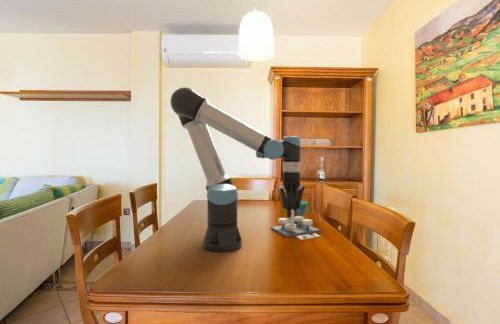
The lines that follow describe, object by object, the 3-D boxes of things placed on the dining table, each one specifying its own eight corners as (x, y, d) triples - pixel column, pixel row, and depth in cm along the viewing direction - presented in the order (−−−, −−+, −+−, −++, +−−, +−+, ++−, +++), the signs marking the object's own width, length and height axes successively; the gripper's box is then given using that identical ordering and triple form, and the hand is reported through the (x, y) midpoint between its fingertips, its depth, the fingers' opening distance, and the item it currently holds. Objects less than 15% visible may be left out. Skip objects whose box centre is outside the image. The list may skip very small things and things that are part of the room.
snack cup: (308, 218, 154) (308, 199, 153) (315, 223, 143) (315, 203, 143) (280, 218, 152) (280, 200, 151) (285, 224, 141) (285, 204, 141)
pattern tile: (301, 240, 117) (301, 238, 117) (295, 237, 120) (295, 235, 120) (320, 237, 121) (320, 235, 121) (314, 234, 124) (314, 232, 124)
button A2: (281, 228, 127) (281, 220, 127) (276, 225, 132) (276, 218, 131) (290, 227, 129) (290, 219, 129) (284, 224, 134) (284, 217, 133)
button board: (286, 237, 120) (286, 234, 120) (271, 229, 132) (271, 226, 132) (319, 232, 127) (319, 229, 127) (302, 225, 139) (302, 222, 139)
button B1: (306, 229, 125) (306, 222, 125) (300, 227, 130) (300, 219, 129) (314, 228, 127) (314, 221, 127) (308, 225, 132) (308, 218, 131)
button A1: (289, 234, 122) (289, 226, 122) (283, 231, 126) (283, 224, 126) (298, 233, 124) (298, 225, 123) (292, 230, 128) (292, 222, 128)
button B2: (298, 226, 131) (298, 218, 131) (292, 223, 135) (292, 216, 135) (306, 224, 133) (306, 217, 133) (300, 222, 137) (300, 215, 137)
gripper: (283, 172, 117) (283, 228, 118) (308, 171, 123) (308, 224, 124) (274, 171, 124) (274, 223, 125) (298, 170, 130) (298, 220, 131)
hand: (291, 224), depth 125 cm, fingers closed
